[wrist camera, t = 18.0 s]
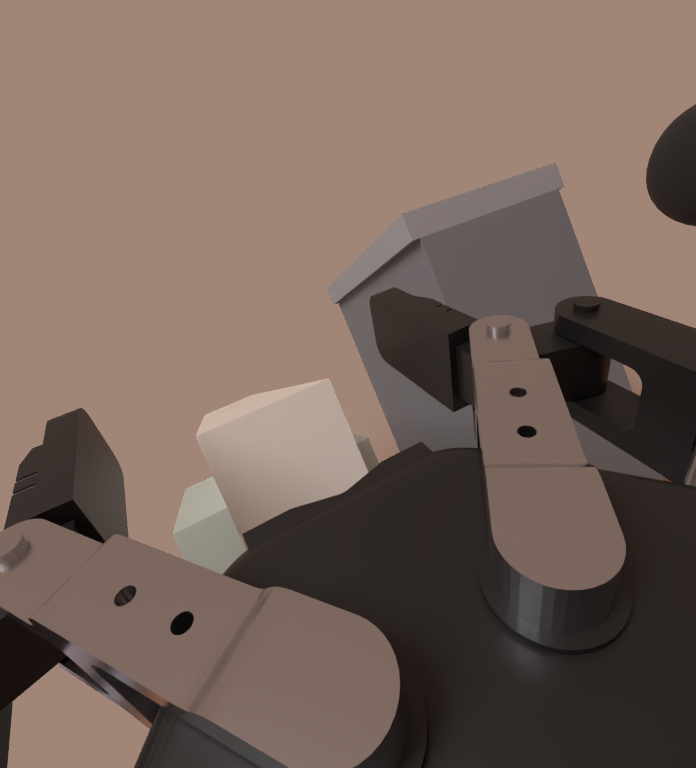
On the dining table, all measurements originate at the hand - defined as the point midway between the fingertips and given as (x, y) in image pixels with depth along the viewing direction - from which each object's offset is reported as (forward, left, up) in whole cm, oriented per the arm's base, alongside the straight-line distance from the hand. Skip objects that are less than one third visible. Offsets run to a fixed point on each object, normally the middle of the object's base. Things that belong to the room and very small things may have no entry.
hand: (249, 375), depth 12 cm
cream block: (0, -13, -5) cm, 14 cm away
